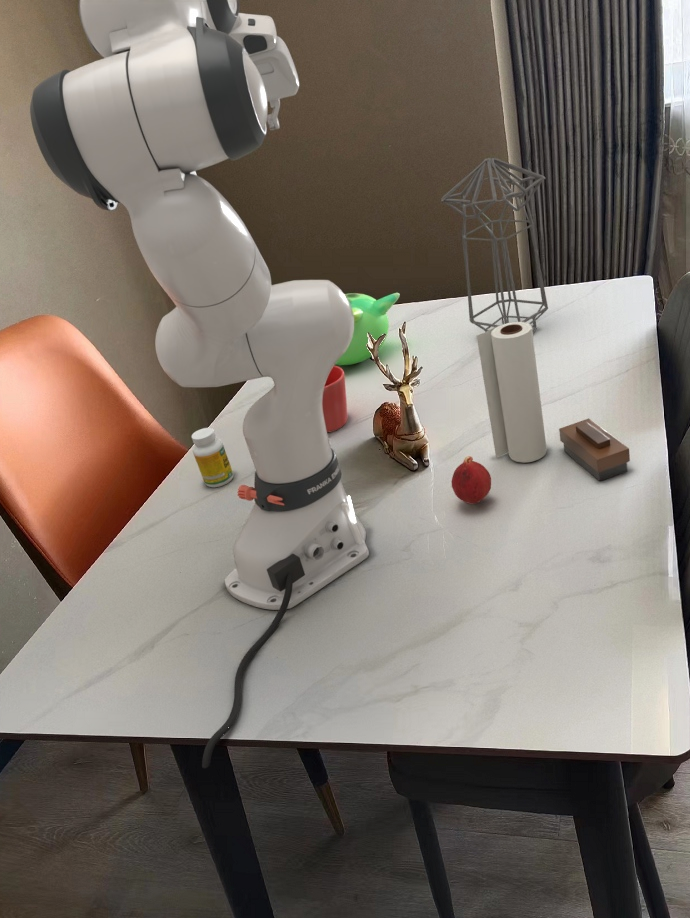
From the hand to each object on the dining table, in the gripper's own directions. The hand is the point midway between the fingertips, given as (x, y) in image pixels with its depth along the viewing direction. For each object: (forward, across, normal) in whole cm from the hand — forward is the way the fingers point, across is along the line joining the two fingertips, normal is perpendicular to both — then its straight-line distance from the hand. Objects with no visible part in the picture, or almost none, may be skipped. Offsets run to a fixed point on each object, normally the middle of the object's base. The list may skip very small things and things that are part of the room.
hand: (245, 135), depth 132 cm
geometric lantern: (+58, +39, +10) cm, 71 cm away
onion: (+38, +24, -49) cm, 67 cm away
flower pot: (+50, 0, -14) cm, 52 cm away
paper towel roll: (+42, +33, -38) cm, 66 cm away
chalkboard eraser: (+40, +43, -44) cm, 73 cm away
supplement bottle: (+46, -20, -26) cm, 57 cm away
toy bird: (+60, +6, +14) cm, 61 cm away
